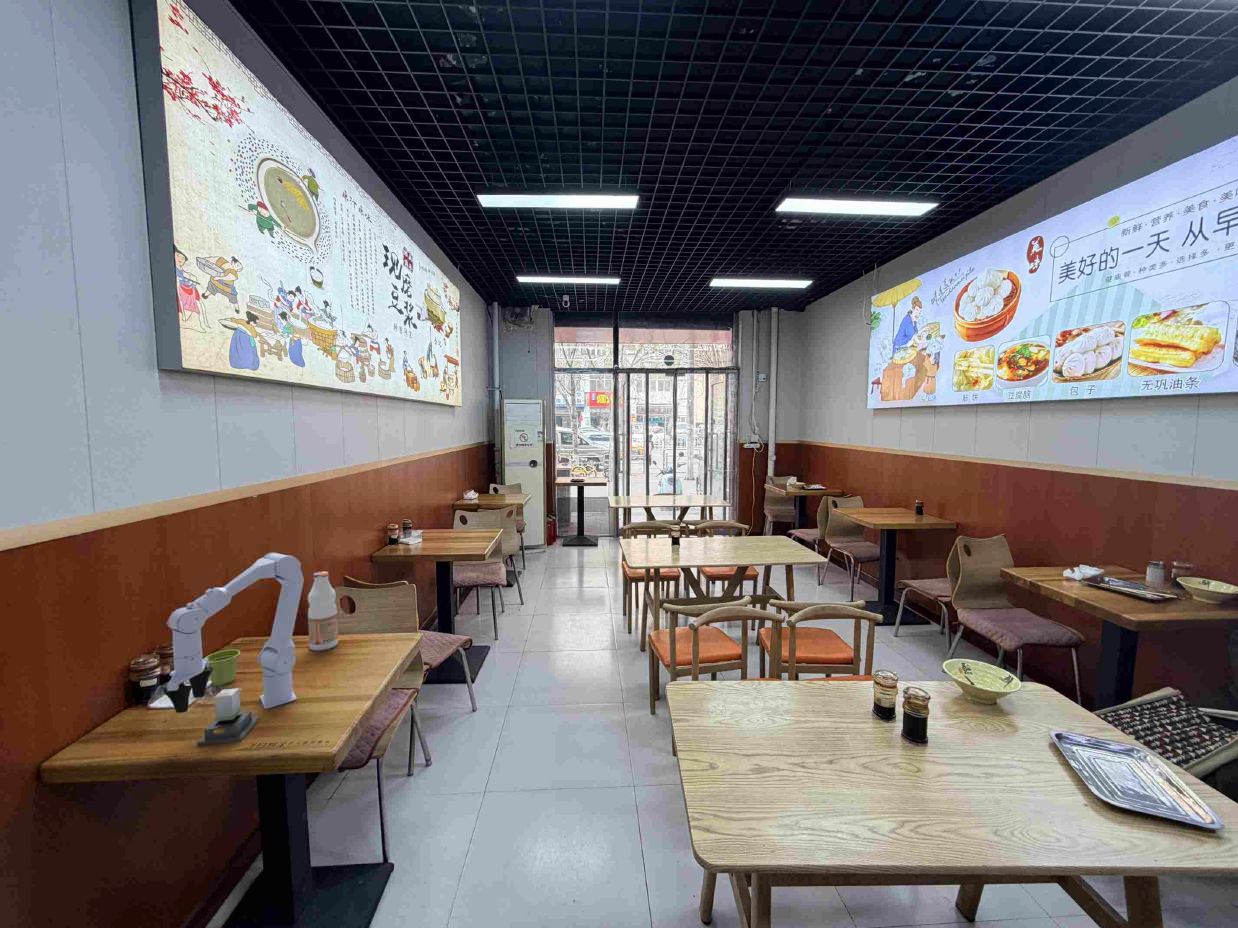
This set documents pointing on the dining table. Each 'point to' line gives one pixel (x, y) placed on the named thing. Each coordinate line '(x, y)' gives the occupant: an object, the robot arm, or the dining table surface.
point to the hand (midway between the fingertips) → (190, 704)
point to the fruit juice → (322, 614)
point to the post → (227, 704)
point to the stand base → (228, 729)
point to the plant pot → (223, 666)
